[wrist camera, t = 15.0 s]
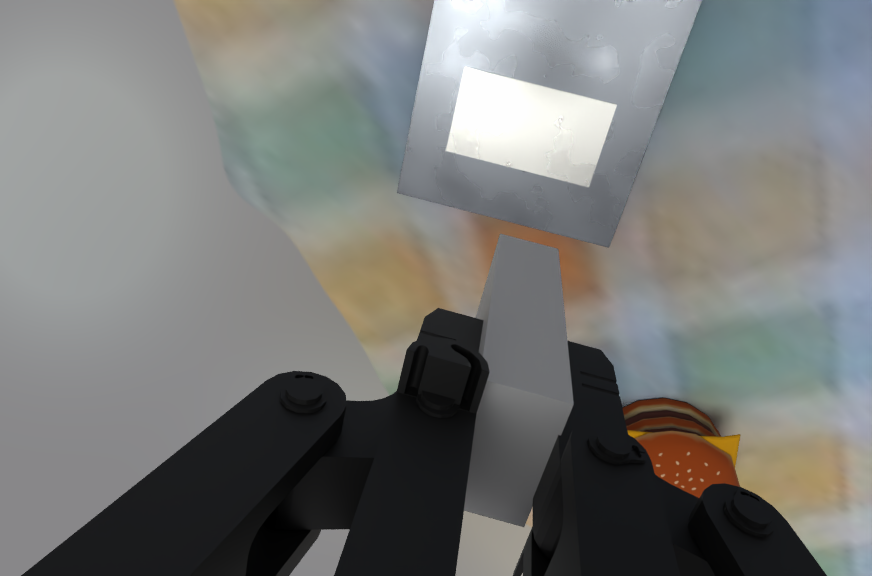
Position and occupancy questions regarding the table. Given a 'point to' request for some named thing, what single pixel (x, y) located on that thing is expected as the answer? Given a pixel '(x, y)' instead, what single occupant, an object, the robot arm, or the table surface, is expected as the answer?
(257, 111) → the table surface
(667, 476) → the hamburger
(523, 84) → the label panel
